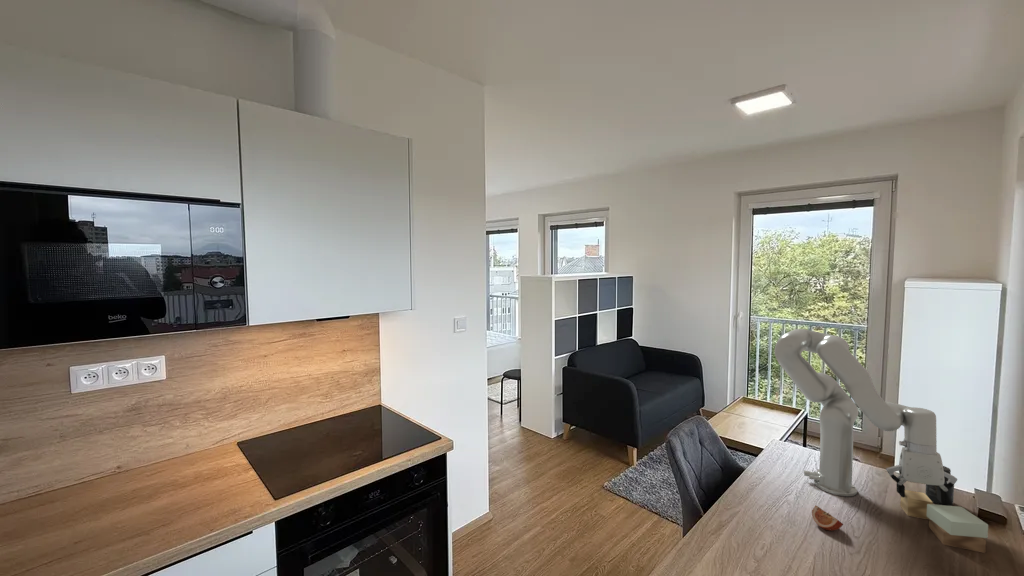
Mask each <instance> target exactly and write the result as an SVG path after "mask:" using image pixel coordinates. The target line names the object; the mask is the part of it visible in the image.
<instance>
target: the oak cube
mask: <svg viewBox="0 0 1024 576" xmlns="http://www.w3.org/2000/svg"><path fill="white" fill-rule="evenodd" d="M925 493H926V492H920V491H913V490H907V489H905V497H901V496H900V502H899V503H900V505H899V506H900V507H901V509H902V510H903V512H904V513H905V514H906V516H907V517H908V516H909V517H912V518H918V519H919V518H920V519H923V520H928V521H929V518H928V517H927V504H933V505H934V503H933V502H932V501H931V500H930V499H929V498H928V496H927V495H926V494H925Z"/></svg>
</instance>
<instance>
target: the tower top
mask: <svg viewBox="0 0 1024 576" xmlns="http://www.w3.org/2000/svg"><path fill="white" fill-rule="evenodd" d="M927 517H928V518H929V519H931V520H932V521H933V522H934V523H936V524H937V525H938V526H940V527H941V528H942V529H944V530H945V531H946V532H948V533H949V534H950V535H958V536H969V537H980V538H984V539H988V537H989V535H988V534H989V533H988V532H989V524H988V523H987V522H985V521H983V520H982V519H980V518H979V517H978V516H976V515H974V514H972V512H970V511H968V510H967V509H965V508H964V507H962V506H957V505H951V506H946V505H939V504H934V503H933V504H927Z"/></svg>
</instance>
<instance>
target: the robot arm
mask: <svg viewBox="0 0 1024 576" xmlns="http://www.w3.org/2000/svg"><path fill="white" fill-rule="evenodd" d="M774 346H775V347H774V356H775V359H776V361H777V362H778V364H779V366H780V367H781V368H782V369H783V371H784V372H785V373H786V374H787V375H788V377H789V378H790V379H791V381H792V382H793V383H794V384H795V386H796V387H797V389H799V390H800V392H801V393H802V394H803V395H804V397H805V398H806V399H807V400H809V401H810V402H813V403H817V404H819V403H820V404H821V405H822V406H823V407H822V408H821V410H820V412H819V413H820V414H819V428H820V430H819V431H820V432H819V433H820V434H819V437H820V439H819V441H820V442H819V443H820V444H819V469H816V471H810V470H803V476H804V477H808V479H809V480H813V483H814V485H815V486H816V487H817V488H819V489H820V490H821V491H824V492H825V493H829V494H832V495H834V496H840V497H854V496H856V495H857V493H858V488H857V487H856V486H855V485H854V484H853V483H852V482H853V464H854V463H853V461H854V460H853V459H854V424H855V421H857V419H858V416H859V410H860V411H861V412H862V413H863V414H864V416H865V417H866V418H867V420H869V421H870V422H871V423H872V424H873V426H875V427H876V428H878V429H880V430H881V431H885V432H894V431H897V430H899V428H901V426H903V427H904V429H903V430H904V436H903V437H904V438H903V440H899V441H898V444H899V446H902V448H901V451H900V454H899V463H898V464H897V465H893V466H889V467H886V468H885V471H886V472H887V474H888V475H889V476H890V478H891V479H892V480H893V481H894V482H895V483H896V493H898V494H899V496H900V498H901V497H905V490H906V488H905V487H906V486H905V485H904V484H906V483H907V482H909V483H914V484H921V485H926V484H927V485H935V486H939V487H937V499H938V500H939V501H940V502H941V503H944V500H946V491H948V489H950V488H951V487H953V486H954V487H955V484H956V483H957V482H958V478H957V477H956V476H954V475H953V474H951V475H950V474H948V473H946V472H944V470H943V466H944V464H943V459H942V456H941V454H940V453H939V452H938V451H937V415H936V413H935V412H934V411H932V410H929V409H927V408H923V407H914V406H913V407H911V406H906V405H903V404H899V403H896V402H891V401H885V400H884V398H882V397H881V395H880V394H879V393H878V391H877V390H876V388H875V385H874V383H873V380H872V376H871V373H869V371H868V370H867V369H866V368H865V367H864V366H863V364H861V363H860V361H859V360H858V359H857V358H856V357H855V356H854V355H853V354H852V353H851V351H850V345H849V343H848V342H847V340H846V339H844V338H843V337H841V336H837V335H834V334H828V333H825V332H819V331H814V330H810V329H806V328H805V329H804V328H796V329H793V330H790V331H788V332H786V333H784V334H782V335H781V336H780V337H779V338H778V339H777V341H776V343H775V345H774ZM804 351H806V352H809V353H813V354H817V355H818V357H819V358H820V359H821V360H822V362H823V363H824V364H825V365H826V366H827V368H829V369H830V370H831V371H832V373H833V374H834V375H835V377H837V379H838V380H839V381H840V382H841V383H842V384H843V386H844V387H845V389H846V391H847V392H848V394H847V392H846V391H845V390H844V389H843V387H841V385H840V384H839V383H838V382H837V381H836V380H835V379H834V378H833V377H832V376H831V375H830V374H827V373H824V372H817V371H816V370H815V368H813V366H812V364H811V363H810V362H808V360H806V359H805V358H804V357H803V356H802V353H803V352H804ZM895 472H898V473H899V475H898V476H897V475H895V474H894V473H895ZM944 476H945V477H947V478H949V479H948V481H946V482H945V479H944ZM944 482H945V483H944Z"/></svg>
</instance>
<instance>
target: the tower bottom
mask: <svg viewBox="0 0 1024 576" xmlns="http://www.w3.org/2000/svg"><path fill="white" fill-rule="evenodd" d="M928 527H929V529H930V530H931V532H932V533H933V534H934V536H935V537H937V539H938V540H939V542H940V543H941V544H942V545H944V546H949V547H954V548H958V549H965V550H968V551H973V552H977V553H978V552H979V553H983V554H986V550H987V549H986V547H987V540H986V538H980V537H969V536H958V535H950V534H949V533H948V532H946V531H945V530H944V529H942V528H941V527H940V526H938V525H937V524H936V523H934V522H933V521H932V520H931V519H929V520H928Z"/></svg>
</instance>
